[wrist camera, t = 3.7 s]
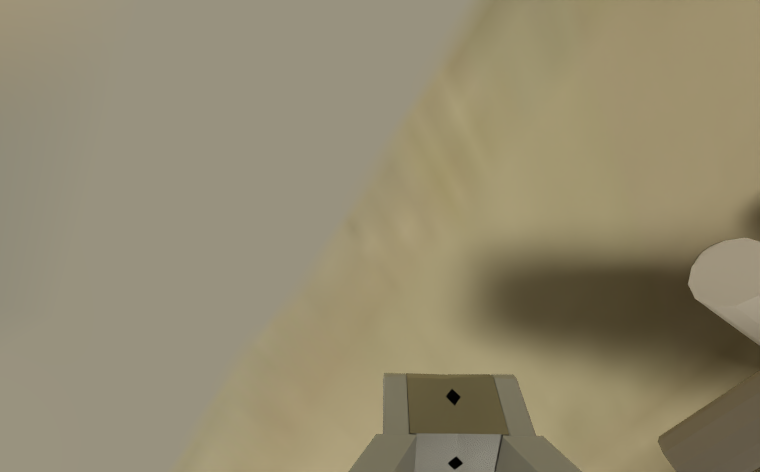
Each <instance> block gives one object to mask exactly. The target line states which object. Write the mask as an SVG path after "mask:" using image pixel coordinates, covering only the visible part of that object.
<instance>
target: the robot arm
mask: <svg viewBox="0 0 760 472" xmlns="http://www.w3.org/2000/svg"><path fill="white" fill-rule="evenodd" d="M349 472H582V471H580V470H579V469H578V468H577V467H576V466H575V465H574V464H573V463H572V462H571V461H570V460H568V459H567V458H566V457H565V456H564V455H563V454H562V453H561V452H560V451H559V450H558V449H556V448H555V447H554V446H553V445H552V444H551V443H550V442H549V441H548V440H547V439H546V438H544V437H543V436H536V434H535V431H534V428H533V425H532V422H531V419H530V416H529V413H528V411H527V408H526V405H525V402H524V399H523V396H522V393H521V390H520V387H519V384H518V381H517V378H516V377H515V376H514V375H490V374H448V375H439V374H411V373H406V374H400V373H384V378H383V434H376V435H375V437H374V438H373V439H372V441H371V442H370V443H369V445H368V446H367V447H366V449H365V450H364V452H363V453H362V454H361V456H360V457H359V458H358V460H357V461H356V462H355V464H354V465H353V466H352V468H351V469H350V470H349Z"/></svg>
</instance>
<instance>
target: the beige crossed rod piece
mask: <svg viewBox="0 0 760 472" xmlns="http://www.w3.org/2000/svg"><path fill="white" fill-rule="evenodd" d="M688 285H689V287H690V289H691V291H692V293H693V296H694V298H695V299H696V300H698V301H699V302H700V303H702V304H703V305H704V306H706V307H707V308H709V309H710V310H711V311H713V312H714V313H715V314H717V315H718V316H720V317H721V318H722V319H724V320H725V321H726V322H728V323H729V324H730V325H732V326H733V327H735V328H736V329H737V330H739V331H740V332H741V333H743V334H744V335H746V336H747V337H748V338H750V339H751V340H752V341H754V342H755V343H756V344H758V345H759V346H760V242H759V241H756V240H752V239H749V238H740V239H733V240H727V241H723V242H720V243H717V244H715V245H712V246H710V247H709V248H707V249H706V250H704V251H703V252H702V253H701V254H700V255H699V256H698V258H697V259H696V261H695V264H694V265H693V266H692V267H691V272H690V277H689V282H688ZM658 443H659V445H660V447H661V450H662V452H663V454H664V455H665V457H666V458H667V459H668V461H669V462H670V464H671V465H672V466H673V468H674V469H675V470H676V471H677V472H752V471H754V470H756V469H758V468H760V370H759V371H758V372H756V373H755V374H753V375H752V376H750V377H749V378H747V379H746V380H744V381H743V382H741V383H740V384H738V385H737V386H735V387H734V388H732V389H731V390H729V391H728V392H726V393H725V394H723V395H721V396H720V397H718V398H717V399H715V400H714V401H712V402H711V403H709V404H708V405H706V406H705V407H703V408H702V409H700V410H699V411H697V412H696V413H694V414H693V415H691V416H690V417H688V418H687V419H685V420H684V421H682V422H681V423H679V424H677V425H676V426H674V427H673V428H671V429H670V430H668V431H667V432H665V433H664V434H662V435H661V436H659V440H658Z"/></svg>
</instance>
